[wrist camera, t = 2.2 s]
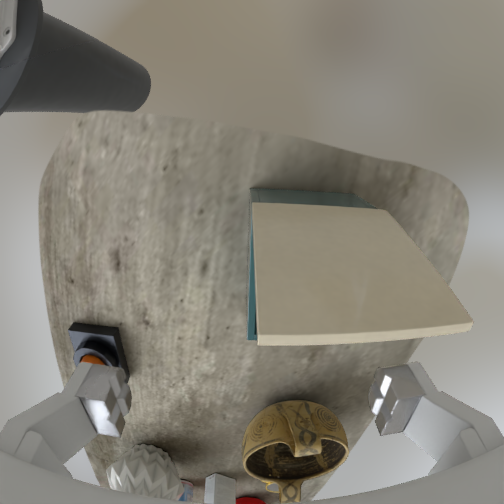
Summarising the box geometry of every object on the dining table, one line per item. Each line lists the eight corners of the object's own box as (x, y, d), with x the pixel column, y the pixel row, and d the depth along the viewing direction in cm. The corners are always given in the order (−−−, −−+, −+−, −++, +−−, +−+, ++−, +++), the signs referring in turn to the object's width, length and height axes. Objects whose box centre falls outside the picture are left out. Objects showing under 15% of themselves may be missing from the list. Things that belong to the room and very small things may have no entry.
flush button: (79, 352, 40) (75, 360, 39) (102, 356, 40) (98, 363, 39) (86, 372, 42) (82, 379, 40) (108, 375, 42) (105, 383, 40)
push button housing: (73, 322, 42) (62, 336, 39) (118, 327, 43) (109, 343, 39) (88, 369, 46) (80, 385, 42) (130, 376, 46) (123, 392, 43)
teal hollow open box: (338, 300, 42) (358, 338, 34) (246, 299, 41) (246, 340, 33) (354, 193, 36) (383, 212, 28) (249, 188, 36) (251, 205, 28)
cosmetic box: (205, 477, 59) (202, 518, 48) (215, 472, 58) (213, 515, 47) (225, 484, 61) (224, 524, 50) (236, 479, 60) (236, 520, 49)
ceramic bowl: (242, 370, 46) (242, 450, 32) (348, 366, 46) (376, 438, 32) (241, 447, 54) (241, 510, 40) (324, 443, 55) (337, 502, 41)
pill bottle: (166, 483, 61) (161, 518, 51) (175, 476, 59) (169, 514, 49) (188, 490, 63) (184, 525, 52) (197, 483, 61) (194, 520, 50)
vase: (177, 434, 52) (164, 515, 35) (194, 472, 58) (188, 539, 41) (104, 428, 52) (80, 499, 35) (130, 466, 58) (115, 527, 41)
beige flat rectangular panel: (469, 331, 15) (474, 321, 14) (257, 346, 14) (258, 334, 14) (384, 217, 28) (386, 209, 28) (251, 210, 28) (252, 202, 27)
